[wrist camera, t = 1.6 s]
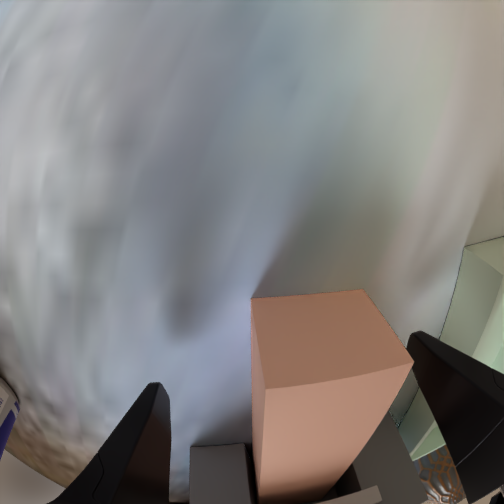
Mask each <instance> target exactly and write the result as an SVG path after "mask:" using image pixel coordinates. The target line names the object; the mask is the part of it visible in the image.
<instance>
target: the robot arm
mask: <svg viewBox="0 0 504 504" xmlns="http://www.w3.org/2000/svg"><path fill="white" fill-rule="evenodd" d="M406 350H407V351H408V353H409V354H410V356H411V357H412V359H413V360H414V364H413V366H412V369H413V372H414V375H415V377H416V380H417V383H418V385H419V387H420V389H421V392H422V394H423V396H424V398H425V400H426V402H427V404H428V406H429V408H430V410H431V412H432V414H433V416H434V419H435V421H436V423H437V425H438V427H439V430H440V432H441V434H442V436H443V439H444V441H445V443H446V446H447V448H448V450H449V453H450V455H451V458H452V460H453V463H454V465H455V468H456V471H457V473H458V476H459V479H460V481H461V484H462V487H463V490H464V492H465V495H466V498H467V501H468V504H472V503H474V502H476V501H478V500H479V499H481V498H483V497H485V496H486V495H488V494H490V493H491V492H493V491H494V490H496V489H498V488H500V491H499V492H498V493H497V494H496V495H494V496H493V497H492V498H491V501H490V504H504V374H503V373H501V372H499V371H497V370H495V369H493V368H491V367H489V366H487V365H486V364H484V363H482V362H480V361H478V360H476V359H474V358H472V357H470V356H469V355H467V354H465V353H463V352H461V351H459V350H457V349H455V348H453V347H451V346H450V345H448V344H446V343H444V342H442V341H440V340H438V339H436V338H434V337H432V336H431V335H429V334H427V333H425V332H423V331H416V332H414V333H411V335H410V337H409V341H408V344H407V347H406ZM170 454H171V419H170V399H169V396H168V394H167V392H166V390H165V389H164V387H163V385H162V384H161V383H160V382H153V383H149V384H148V385H147V386H146V388H145V389H144V390H143V392H142V393H141V394H140V396H139V397H138V398H137V400H136V401H135V402H134V404H133V405H132V406H131V408H130V409H129V410H128V412H127V413H126V414H125V416H124V417H123V418H122V420H121V421H120V422H119V424H118V425H117V426H116V428H115V429H114V430H113V432H112V433H111V434H110V436H109V437H108V439H107V440H106V441H105V443H104V444H103V445H102V447H101V448H100V449H99V451H98V453H96V455H95V456H94V457H93V459H92V460H91V461H90V462H89V464H88V465H87V466H86V468H85V469H84V470H83V471H82V472H81V473H80V474H79V476H78V477H77V478H76V479H75V480H74V481H73V482H72V483H71V484H70V485H69V486H68V487H67V488H66V489H65V490H64V491H63V492H62V493H61V494H60V495H59V496H58V497H57V498H56V499H55V500H53V501H51V502H49V503H47V504H169V475H170Z"/></svg>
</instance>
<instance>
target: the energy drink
mask: <svg viewBox="0 0 504 504" xmlns="http://www.w3.org/2000/svg"><path fill="white" fill-rule="evenodd" d="M19 410H20V408H19V403H18V399H17V397H16V395H15V394H14V392H13V391H12V389H11V388H10V387H9V386H8V385H7V383H6V382H5V381H4V380H3V379H2V378H1V377H0V459H1V457H2V454H3V451H4V448H5V445H6V442H7V440H8V437H9V434H10V432H11V429H12V427H13V424H14V422H15V419H16V417H17V415H18V412H19Z"/></svg>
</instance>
